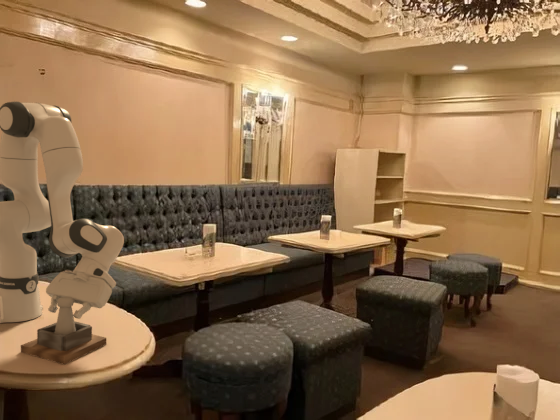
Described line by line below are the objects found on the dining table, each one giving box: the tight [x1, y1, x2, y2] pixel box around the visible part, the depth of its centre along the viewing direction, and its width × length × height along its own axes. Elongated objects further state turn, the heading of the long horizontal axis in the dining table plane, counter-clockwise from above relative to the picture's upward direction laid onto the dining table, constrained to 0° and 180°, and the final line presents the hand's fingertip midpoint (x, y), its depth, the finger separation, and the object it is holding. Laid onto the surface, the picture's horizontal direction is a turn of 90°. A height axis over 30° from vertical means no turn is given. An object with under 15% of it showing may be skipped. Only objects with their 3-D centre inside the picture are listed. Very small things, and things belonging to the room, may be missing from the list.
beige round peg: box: [55, 297, 76, 336], centre depth 141 cm, size 6×6×13 cm
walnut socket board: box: [20, 320, 107, 365], centre depth 141 cm, size 16×16×6 cm
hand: (63, 314), depth 140 cm, fingers open, 8 cm apart
